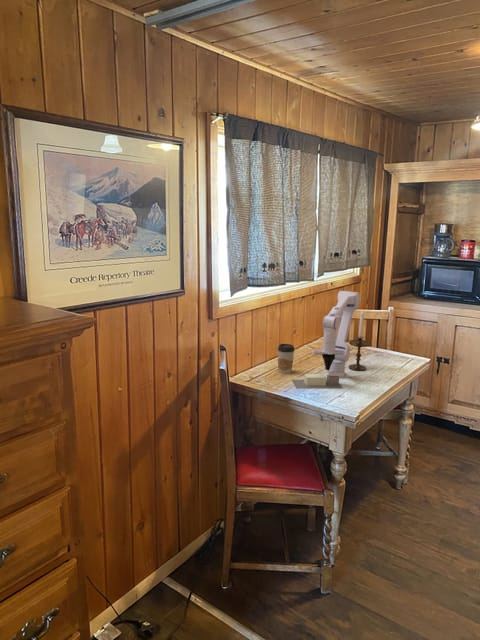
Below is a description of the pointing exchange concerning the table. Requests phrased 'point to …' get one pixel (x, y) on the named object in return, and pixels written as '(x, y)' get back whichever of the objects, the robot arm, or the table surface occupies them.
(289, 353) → the coffee cup
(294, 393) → the table surface
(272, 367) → the table surface
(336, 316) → the robot arm
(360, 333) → the candlestick
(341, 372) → the bar
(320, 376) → the cream rectangular block
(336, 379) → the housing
